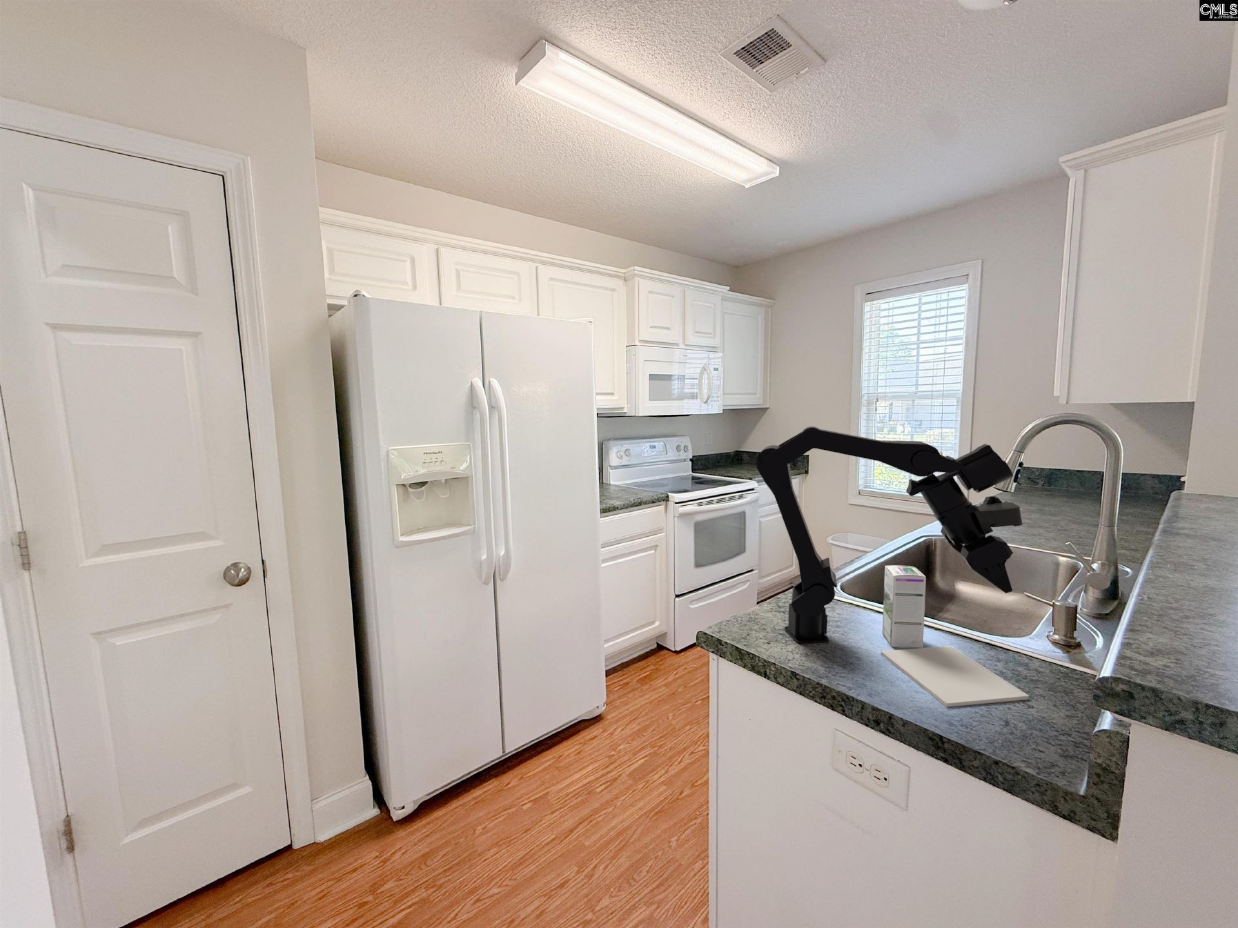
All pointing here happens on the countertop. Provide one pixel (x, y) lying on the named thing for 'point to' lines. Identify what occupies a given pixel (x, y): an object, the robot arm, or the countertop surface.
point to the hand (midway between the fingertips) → (999, 582)
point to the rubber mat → (953, 676)
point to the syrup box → (904, 606)
